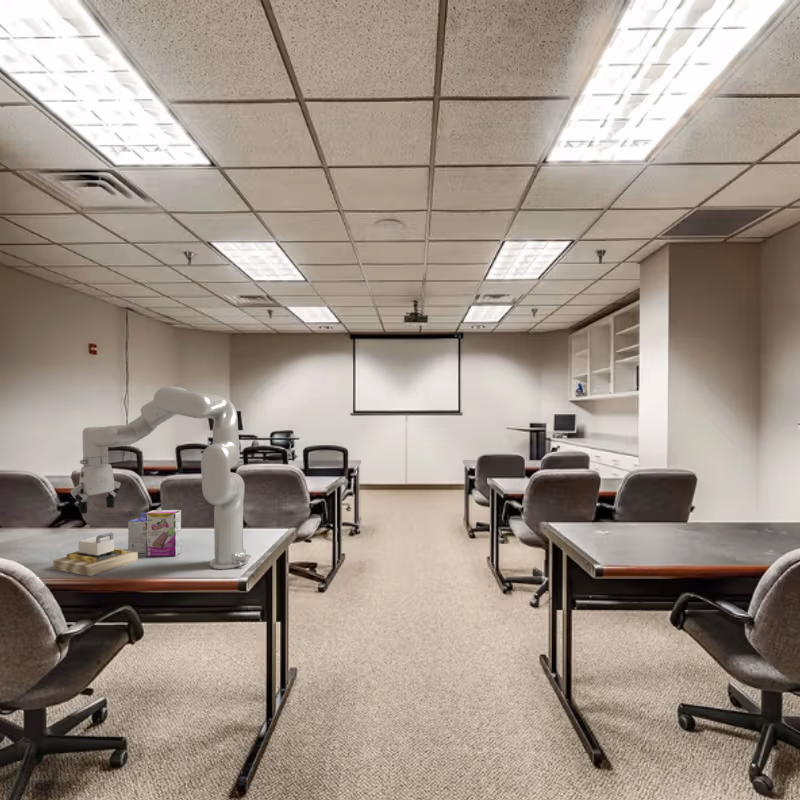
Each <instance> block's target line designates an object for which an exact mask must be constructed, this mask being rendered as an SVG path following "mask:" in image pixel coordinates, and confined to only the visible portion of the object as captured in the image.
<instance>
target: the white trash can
mask: <svg viewBox="0 0 800 800" xmlns="http://www.w3.org/2000/svg"><path fill="white" fill-rule="evenodd" d="M108 537H109V538H108ZM114 548H115V539H114V532H106V533H103V534H100V535H97V536H92V537H88V538H86V539H82V540H78V551H79V555H82V556H86V555H87V554H92V557H94V558H97V559H98V558H100V555H101V554H104V553H106V554H107V555H111V554H113V553H114Z"/></svg>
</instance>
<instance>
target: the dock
mask: <svg viewBox="0 0 800 800" xmlns="http://www.w3.org/2000/svg"><path fill="white" fill-rule="evenodd" d="M138 554H139V553H137V552H131V551H128V550H125V549H123V548H122V549H121V548H115V547H114V553H113V554H111V555H107V554H106V553H104V554H101V555H100V558H98V559H97V558H94V557H92V554H87V555H86V556H82V555H79V550H77V551H74V552H70V553H67V554H66V556H63V557H59V558H57V559H53V560H52V569H53V570H55V569H56V570H57V571H60V572H61V571H63V572H67V573H72V574H77V575H83V576H88V577H92V576H95V575H99V574H101V573H105V572H107V571H111V570H114V569H118V568H121V567H123V566H126V565H129V564H133V563H136V562H138V561H139V556H138Z"/></svg>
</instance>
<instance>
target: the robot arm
mask: <svg viewBox="0 0 800 800" xmlns="http://www.w3.org/2000/svg"><path fill="white" fill-rule="evenodd" d="M140 414H141V415H140V416H138V417H136V418H135V419H134V420H132V421H130V422H129V423H126V424H117V425H109V426H108V425H107V426H93V427H92V426H90V427H85V428H83V429H82V459H80V460H79V464H80V465H82V466H81V469H80V473H79V479H78V481H79V482H78V483H79V484H78V485H76V486H75V487H74V488H72V489H71V490H70V495H71V496H72V498H73V499H74V500H75V501H76V503H78V513H80V514H87V513H88V502H87V501H86V500H87V499H88V497H89V496H96V495H102V494H106V497H105V498H106V499H105V500H106V508H111V509H113V508H114V507H115V497H116V496H117V493H118V491H119V490H120V487H121V484H122V483H121V482H119V481H116V480H115V478H114V472H113V468H112V464H109V448H117V447H125V446H130V445H133V444H135V443H137V442H139V441H140V440H142V439H144V438H145V437H147V436H148V435H150V434H151V433H153V432H154V431H155V430H156V428H157V427H158V426H160V425H161V424H163V423H165V422H166V421H168V420H170V419H172V418H173V417H175V416H176V415H179V416H182V417H183V416H185V417H187V418H193V419H212V420H213V427H212V444H210V445H208V446H207V447H206V448H205V449H204V450H203V452H202V455H201V459H200V470H201V473H200V474H201V488H202V490H201V491H202V495H203V497H204V499H205V501H206V502H207V503H209V504H210V505H212V506H214V509H213V513H214V514H213V520H214V521H213V525H214V526H213V527H214V528H213V529H214V530H213V532H214V533H213V534H214V542H213V543H214V544H213V545H214V558H213V559H211V560H210V562H209V566H210V568H212V569H216V570H225V569H227V570H228V569H234V568H238V567H242V566H243V565H246V564H247V563H248V562H249V560H250V559H251V558H252V555H251V554H249V553H246V550H247V549H244V499H245V489H246V488H245V481H244V479H243V478H242V476H241V475H240V474H238V473H236V472H231V468H234V467H235V466H237V465H238V463H239V461H240V457H241V455H240V454H241V451H240V439H239V437H240V436H239V421H238V418H239V417H238V412H237V409H236V407H235V405H234V403H232V402H231V400H229V399H228V398H227V397H226V398H225V397H223V396H222V395H218V394H213V393H201V392H199V393H198V392H195V391H189V390H187V389H186V388H183V387H181V386H170V385H167V386H163V387H160V388H159V389H157V391H156V392H155V393H154V395H153V399H152V400H150V401H148V402H147V403H145V404H144V405H142V406H141V408H140ZM78 492H79V493H78Z"/></svg>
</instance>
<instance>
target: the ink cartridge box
mask: <svg viewBox="0 0 800 800" xmlns="http://www.w3.org/2000/svg"><path fill="white" fill-rule="evenodd" d="M146 513H147V512H142V513H141V515H140V517H139V518H134V519H130V520H128V522H127V526H128V528H127V529H128V533H127V534H128V535H127V536H128V537H127V551H131V552H137V553H138V554H139V553H140V554H141V553H142V554H144V553H145V554H146Z"/></svg>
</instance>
